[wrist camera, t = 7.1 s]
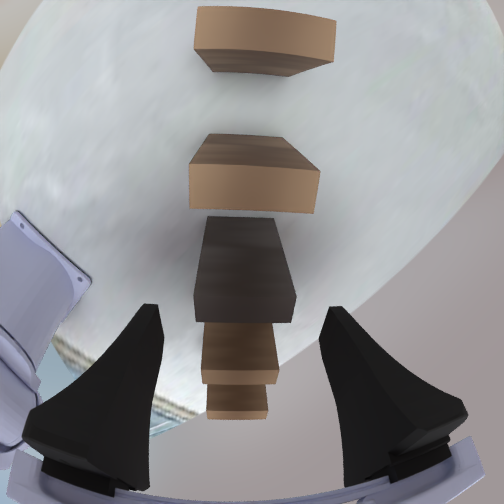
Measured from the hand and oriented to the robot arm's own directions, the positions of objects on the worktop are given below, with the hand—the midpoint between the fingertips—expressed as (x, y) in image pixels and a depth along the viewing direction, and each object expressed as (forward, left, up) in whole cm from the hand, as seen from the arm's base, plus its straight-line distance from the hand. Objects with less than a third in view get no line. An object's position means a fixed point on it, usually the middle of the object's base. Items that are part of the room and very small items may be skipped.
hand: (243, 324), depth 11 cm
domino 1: (-8, +8, -9) cm, 14 cm away
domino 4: (+8, -8, -9) cm, 14 cm away
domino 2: (-4, +4, -9) cm, 10 cm away
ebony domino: (0, 0, -9) cm, 9 cm away
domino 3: (+4, -4, -9) cm, 10 cm away
